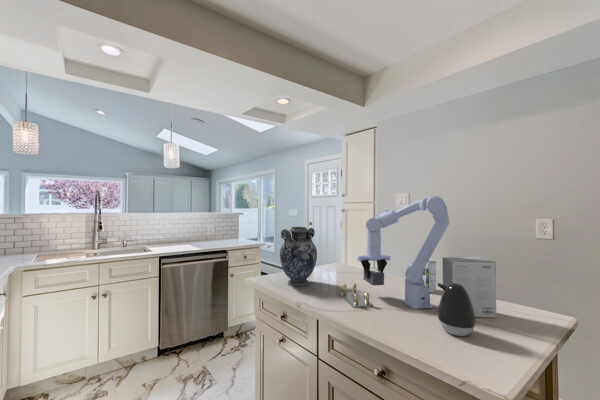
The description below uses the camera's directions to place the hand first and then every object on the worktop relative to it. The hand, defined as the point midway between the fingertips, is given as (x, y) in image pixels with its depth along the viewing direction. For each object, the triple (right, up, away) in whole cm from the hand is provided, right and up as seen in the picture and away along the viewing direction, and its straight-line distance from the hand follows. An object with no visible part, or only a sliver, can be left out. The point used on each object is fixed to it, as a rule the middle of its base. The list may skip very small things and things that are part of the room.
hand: (373, 277), depth 116 cm
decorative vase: (-33, -9, +19) cm, 39 cm away
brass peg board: (-9, -8, -4) cm, 13 cm away
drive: (0, -2, 0) cm, 2 cm away
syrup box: (+27, -9, +10) cm, 30 cm away
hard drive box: (+31, -9, -16) cm, 36 cm away
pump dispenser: (+17, -8, -31) cm, 37 cm away
